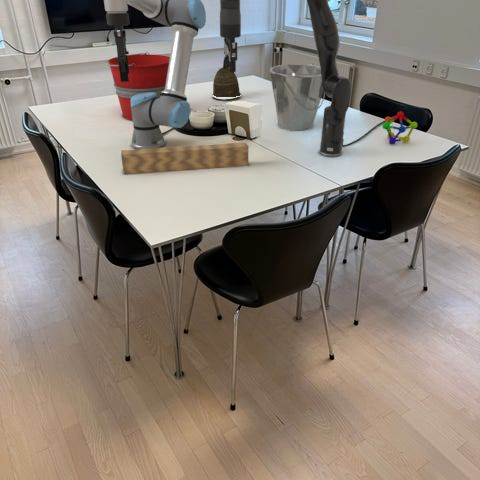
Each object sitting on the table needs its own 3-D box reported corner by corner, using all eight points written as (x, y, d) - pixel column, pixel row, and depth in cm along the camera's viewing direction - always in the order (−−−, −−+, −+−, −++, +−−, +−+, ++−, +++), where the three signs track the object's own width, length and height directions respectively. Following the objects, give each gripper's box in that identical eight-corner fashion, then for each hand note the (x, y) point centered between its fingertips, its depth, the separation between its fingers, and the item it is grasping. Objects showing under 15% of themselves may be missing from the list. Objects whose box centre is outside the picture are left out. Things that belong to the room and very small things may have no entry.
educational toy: (377, 146, 209) (379, 114, 202) (384, 138, 219) (386, 107, 211) (411, 149, 202) (415, 116, 195) (417, 141, 212) (420, 109, 204)
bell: (227, 105, 294) (202, 96, 282) (238, 66, 289) (213, 55, 277) (243, 108, 280) (217, 98, 268) (255, 66, 275) (229, 55, 263)
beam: (123, 174, 178) (121, 154, 174) (124, 169, 182) (121, 150, 178) (248, 165, 186) (248, 146, 182) (245, 160, 191) (246, 142, 186)
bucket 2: (296, 138, 215) (301, 78, 201) (255, 124, 234) (256, 68, 219) (335, 125, 232) (342, 70, 217) (294, 113, 251) (297, 61, 236)
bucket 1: (122, 105, 263) (114, 51, 248) (180, 106, 263) (177, 52, 247) (105, 123, 234) (95, 63, 218) (171, 124, 233) (166, 64, 217)
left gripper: (127, 15, 140) (135, 84, 152) (128, 9, 161) (135, 70, 172) (103, 16, 139) (113, 85, 150) (107, 9, 160) (116, 70, 171)
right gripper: (244, 24, 153) (244, 73, 162) (236, 20, 165) (236, 65, 174) (223, 24, 152) (223, 74, 161) (217, 20, 164) (217, 66, 173)
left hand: (125, 77), depth 162 cm, fingers open, 13 cm apart
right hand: (230, 69), depth 167 cm, fingers open, 8 cm apart
